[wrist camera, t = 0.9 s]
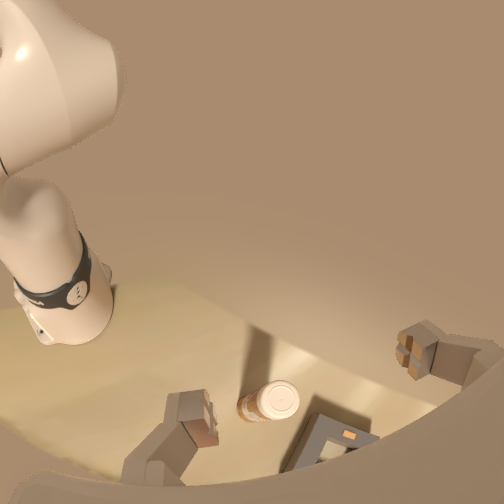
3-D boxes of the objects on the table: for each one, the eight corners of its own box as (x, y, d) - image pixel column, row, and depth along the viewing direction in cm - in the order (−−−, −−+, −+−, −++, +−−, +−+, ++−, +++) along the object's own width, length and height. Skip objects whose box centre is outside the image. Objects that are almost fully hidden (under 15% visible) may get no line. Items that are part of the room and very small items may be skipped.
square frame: (276, 482, 29) (284, 486, 26) (311, 415, 37) (320, 413, 35) (342, 501, 27) (352, 503, 25) (369, 438, 35) (380, 436, 33)
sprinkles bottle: (244, 390, 38) (272, 372, 27) (270, 403, 37) (307, 389, 27) (230, 414, 35) (253, 407, 24) (257, 427, 34) (291, 425, 24)
